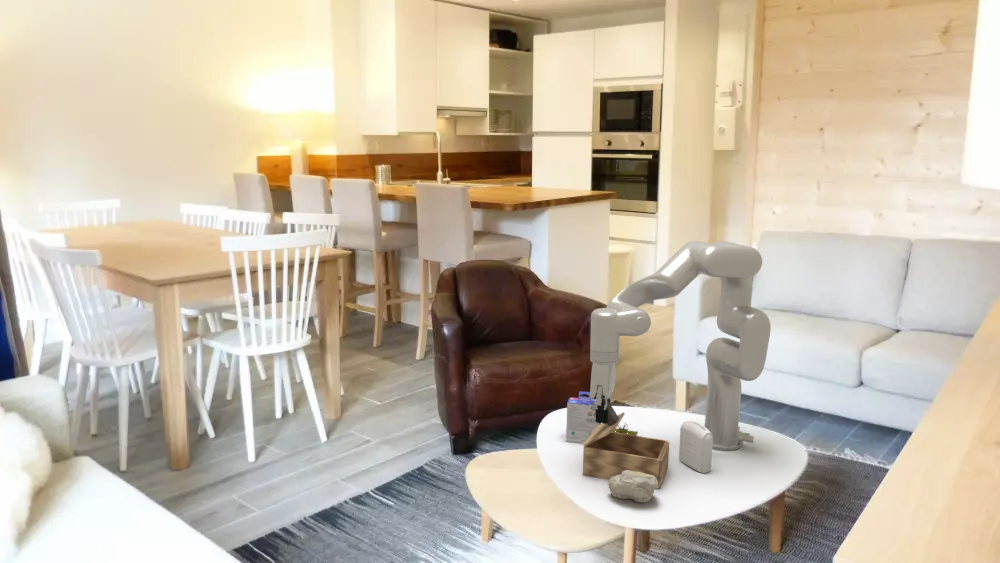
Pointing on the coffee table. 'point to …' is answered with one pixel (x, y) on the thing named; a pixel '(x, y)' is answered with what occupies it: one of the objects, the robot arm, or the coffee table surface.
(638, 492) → the fossil replica
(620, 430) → the lily flower
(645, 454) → the open wooden box
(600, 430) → the flap
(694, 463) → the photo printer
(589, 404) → the ink cartridge box
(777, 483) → the coffee table surface
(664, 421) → the coffee table surface
